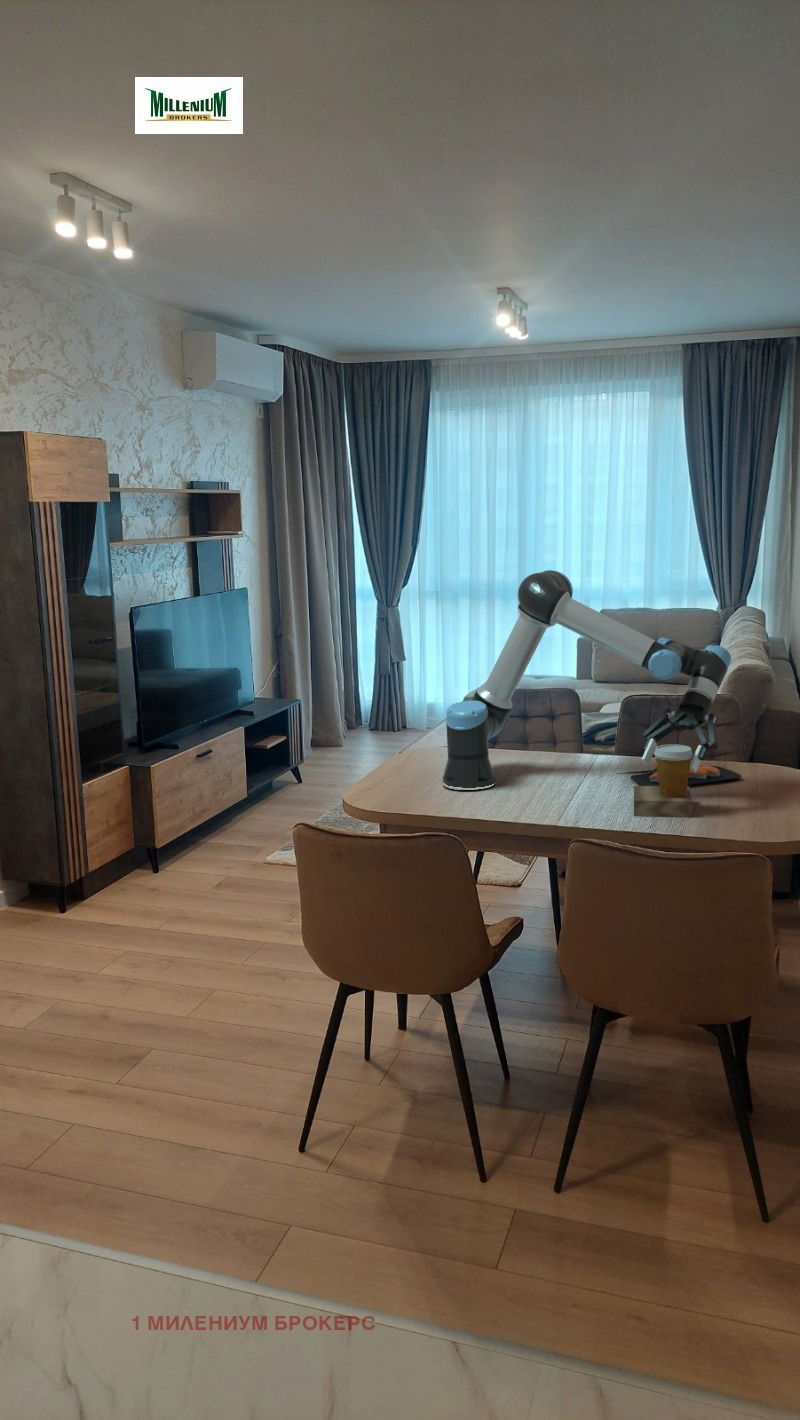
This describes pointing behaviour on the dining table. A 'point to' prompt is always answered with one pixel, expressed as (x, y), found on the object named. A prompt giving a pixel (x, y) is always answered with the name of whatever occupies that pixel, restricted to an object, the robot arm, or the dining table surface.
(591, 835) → the dining table surface
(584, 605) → the robot arm
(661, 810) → the walnut base
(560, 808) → the dining table surface
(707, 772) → the sushi plate
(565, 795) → the dining table surface
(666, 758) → the disposable coffee cup
